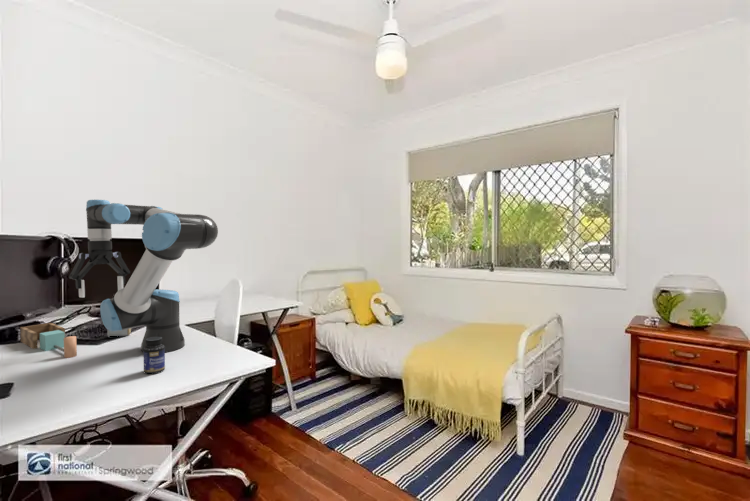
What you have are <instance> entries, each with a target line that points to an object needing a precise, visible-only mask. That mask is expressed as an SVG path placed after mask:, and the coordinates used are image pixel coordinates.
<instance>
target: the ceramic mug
mask: <svg viewBox="0 0 750 501" xmlns="http://www.w3.org/2000/svg"><path fill="white" fill-rule="evenodd" d="M106 330H107V333H106V334H107V337H108V336H117V337H118V336H119V337H127V336H130V335H131V333H132V332H131V331H132V328H130V329H125V330H122V331H120V330H119V331H109V330H108V329H107V328H106ZM117 337H116V338H117Z"/></svg>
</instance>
